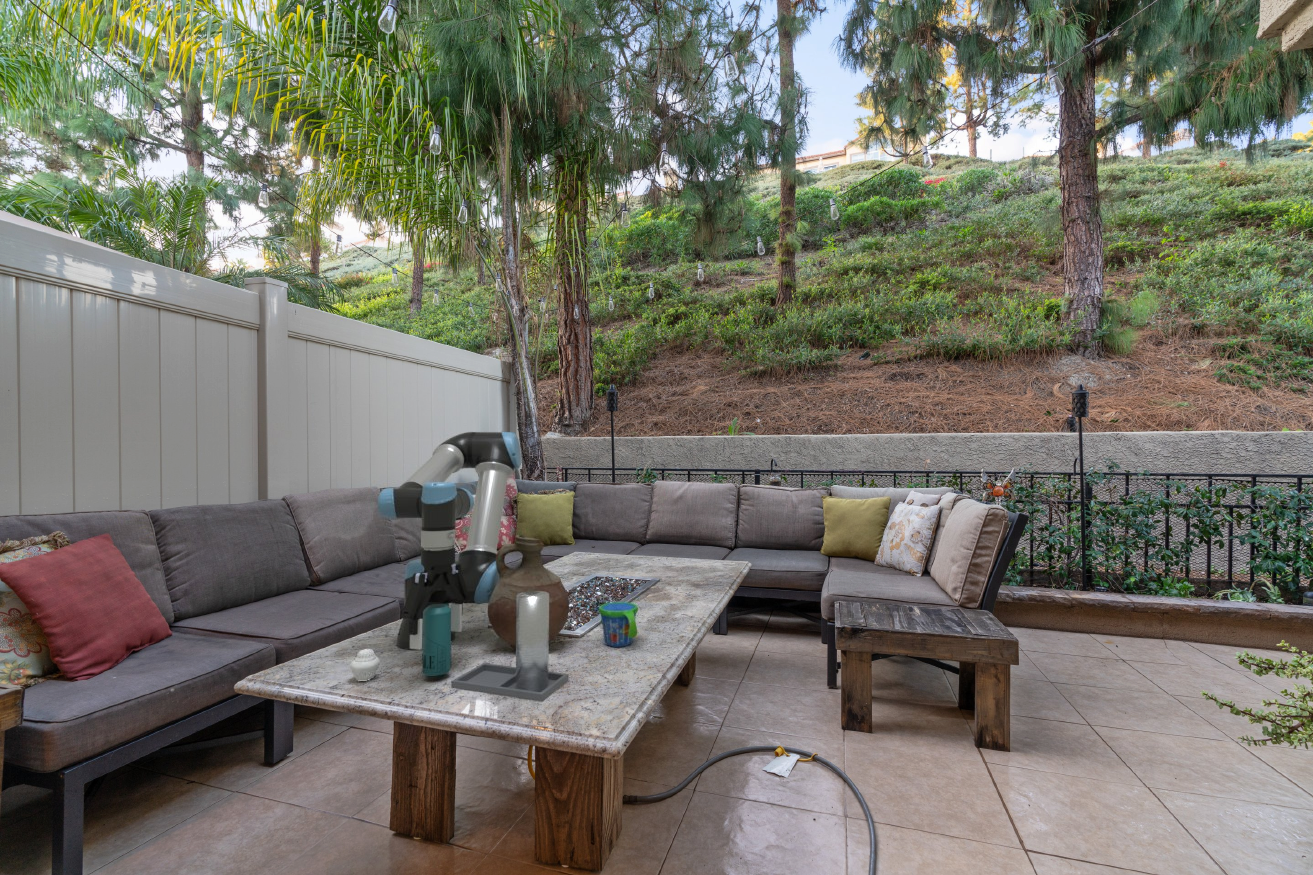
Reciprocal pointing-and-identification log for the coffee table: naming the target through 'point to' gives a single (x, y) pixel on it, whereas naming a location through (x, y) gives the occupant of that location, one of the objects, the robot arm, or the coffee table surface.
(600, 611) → the snack cup
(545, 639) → the canister
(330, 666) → the coffee table surface
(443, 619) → the beverage bottle
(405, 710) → the coffee table surface
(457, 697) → the coffee table surface
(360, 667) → the white lidded jar
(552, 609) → the jug
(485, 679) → the tray
